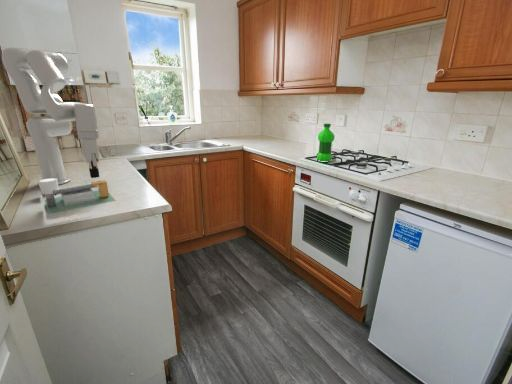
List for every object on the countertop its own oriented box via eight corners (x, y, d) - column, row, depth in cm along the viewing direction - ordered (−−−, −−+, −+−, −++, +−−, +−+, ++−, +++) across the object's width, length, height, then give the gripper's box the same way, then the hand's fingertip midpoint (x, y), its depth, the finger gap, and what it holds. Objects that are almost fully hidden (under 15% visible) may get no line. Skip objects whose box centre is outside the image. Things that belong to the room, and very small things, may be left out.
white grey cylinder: (64, 192, 124) (61, 177, 121) (54, 198, 117) (50, 182, 115) (48, 192, 123) (45, 177, 121) (37, 198, 117) (33, 182, 115)
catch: (94, 196, 114) (91, 182, 112) (107, 194, 117) (104, 179, 115) (95, 198, 112) (92, 183, 110) (109, 196, 115) (106, 181, 113)
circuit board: (45, 203, 111) (44, 199, 111) (106, 192, 124) (105, 189, 124) (48, 217, 98) (47, 213, 98) (116, 204, 111) (115, 200, 110)
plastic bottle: (330, 160, 191) (333, 123, 182) (332, 164, 181) (336, 124, 173) (315, 160, 191) (318, 123, 183) (317, 163, 182) (320, 124, 173)
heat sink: (47, 202, 108) (44, 192, 107) (90, 194, 117) (89, 185, 116) (48, 210, 101) (46, 199, 99) (95, 201, 110) (93, 191, 108)
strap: (53, 195, 103) (52, 192, 103) (52, 193, 106) (52, 190, 106) (97, 187, 112) (96, 184, 111) (95, 185, 114) (95, 182, 114)
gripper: (75, 132, 119) (82, 174, 125) (80, 138, 108) (88, 183, 114) (95, 131, 123) (100, 171, 129) (102, 137, 112) (108, 180, 119)
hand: (95, 177), depth 122 cm, fingers closed
